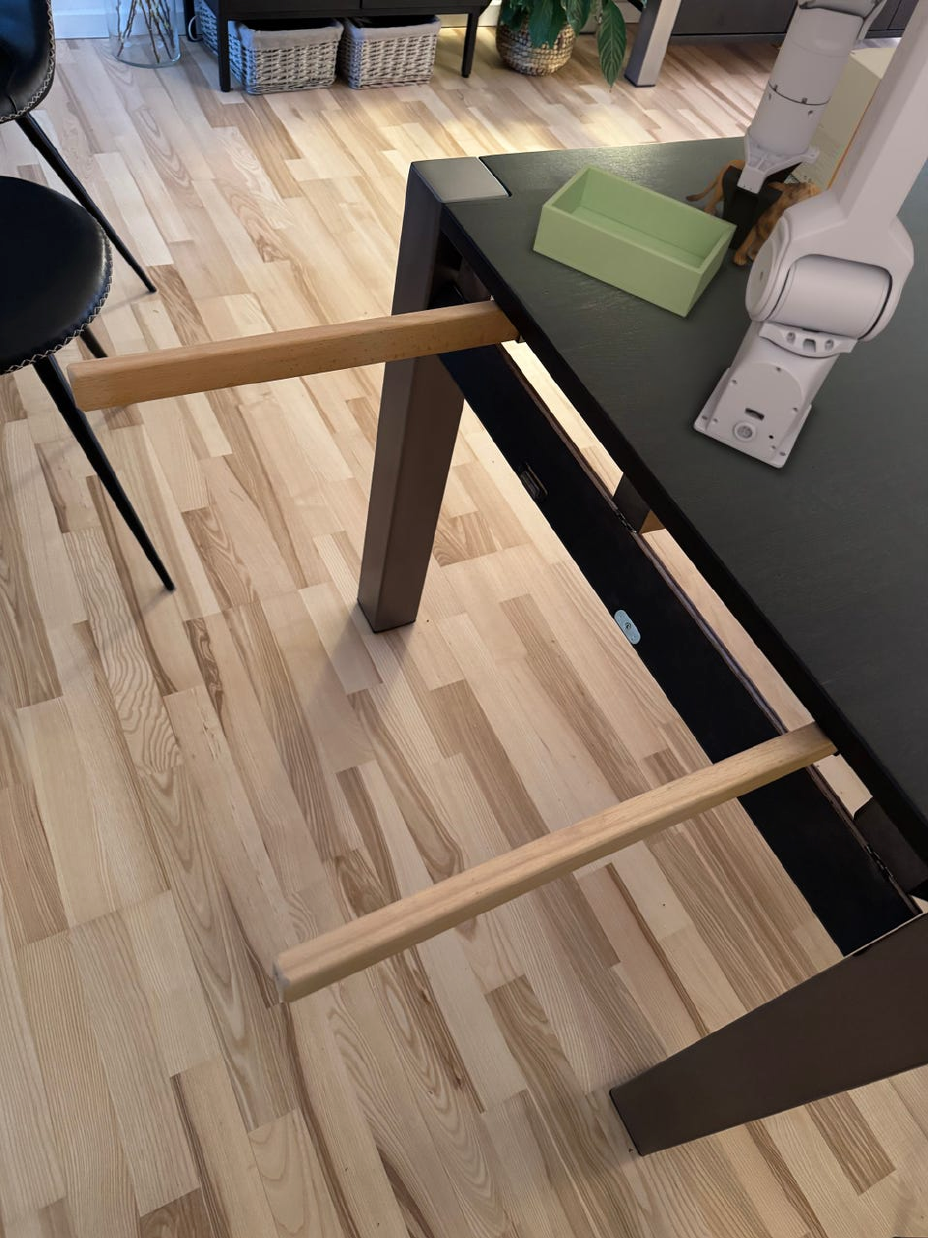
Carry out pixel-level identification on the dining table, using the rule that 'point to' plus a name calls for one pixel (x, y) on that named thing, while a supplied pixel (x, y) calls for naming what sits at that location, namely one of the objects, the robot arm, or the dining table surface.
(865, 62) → the small box
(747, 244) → the lion figurine
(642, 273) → the bin
